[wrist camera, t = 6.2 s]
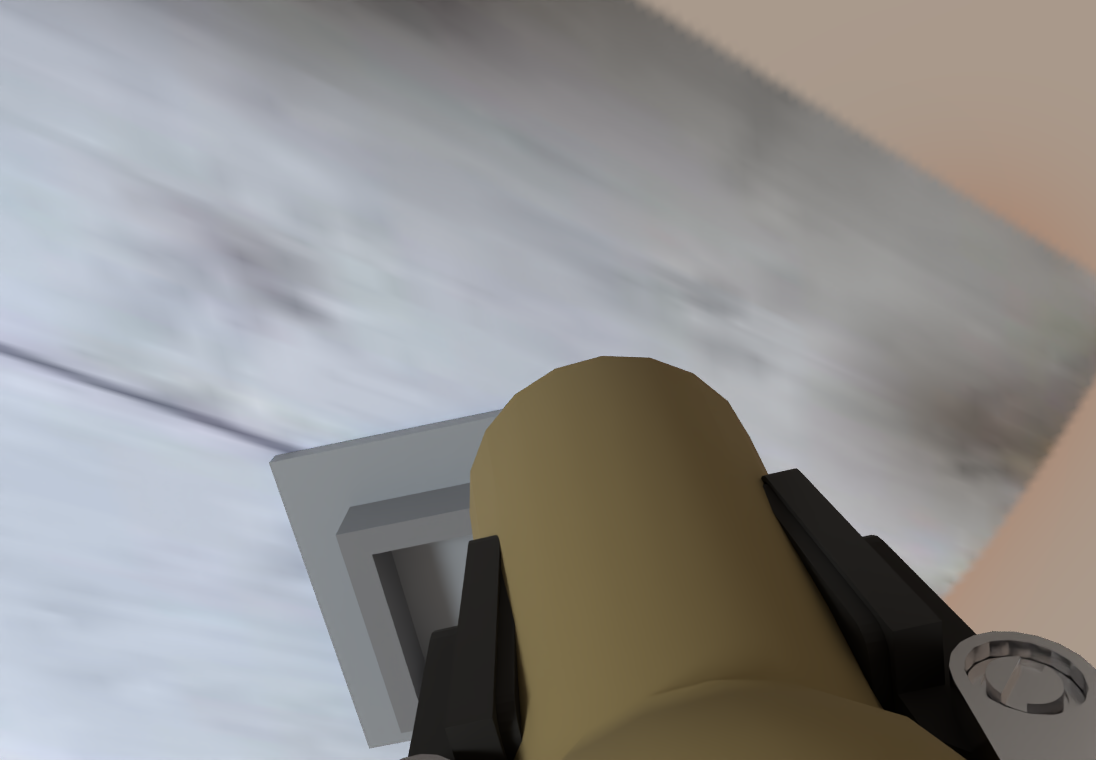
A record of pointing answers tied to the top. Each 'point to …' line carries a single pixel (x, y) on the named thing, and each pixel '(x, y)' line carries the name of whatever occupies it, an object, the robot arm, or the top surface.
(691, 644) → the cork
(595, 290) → the top surface
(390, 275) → the top surface
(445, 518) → the bay base
